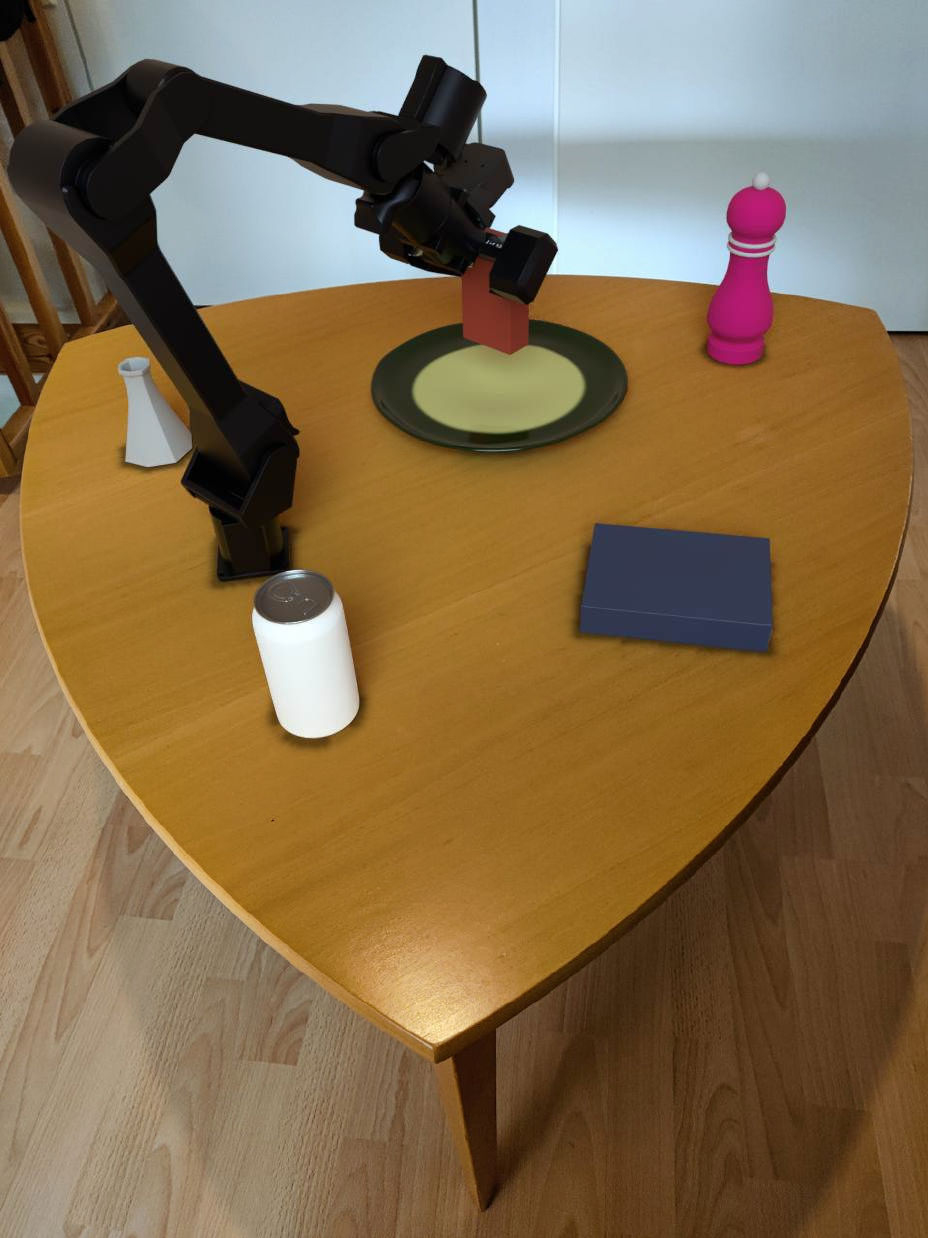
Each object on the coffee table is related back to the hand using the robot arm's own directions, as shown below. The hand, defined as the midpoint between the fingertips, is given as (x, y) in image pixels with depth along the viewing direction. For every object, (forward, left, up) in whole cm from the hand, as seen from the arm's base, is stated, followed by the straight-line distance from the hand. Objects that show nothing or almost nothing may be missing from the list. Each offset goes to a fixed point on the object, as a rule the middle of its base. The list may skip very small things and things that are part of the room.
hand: (504, 283), depth 102 cm
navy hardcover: (-36, -8, -13) cm, 39 cm away
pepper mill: (+3, -27, -13) cm, 30 cm away
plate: (-1, +1, -13) cm, 13 cm away
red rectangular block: (-1, +1, -6) cm, 6 cm away
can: (-43, +23, -13) cm, 51 cm away
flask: (-3, +38, -13) cm, 40 cm away
